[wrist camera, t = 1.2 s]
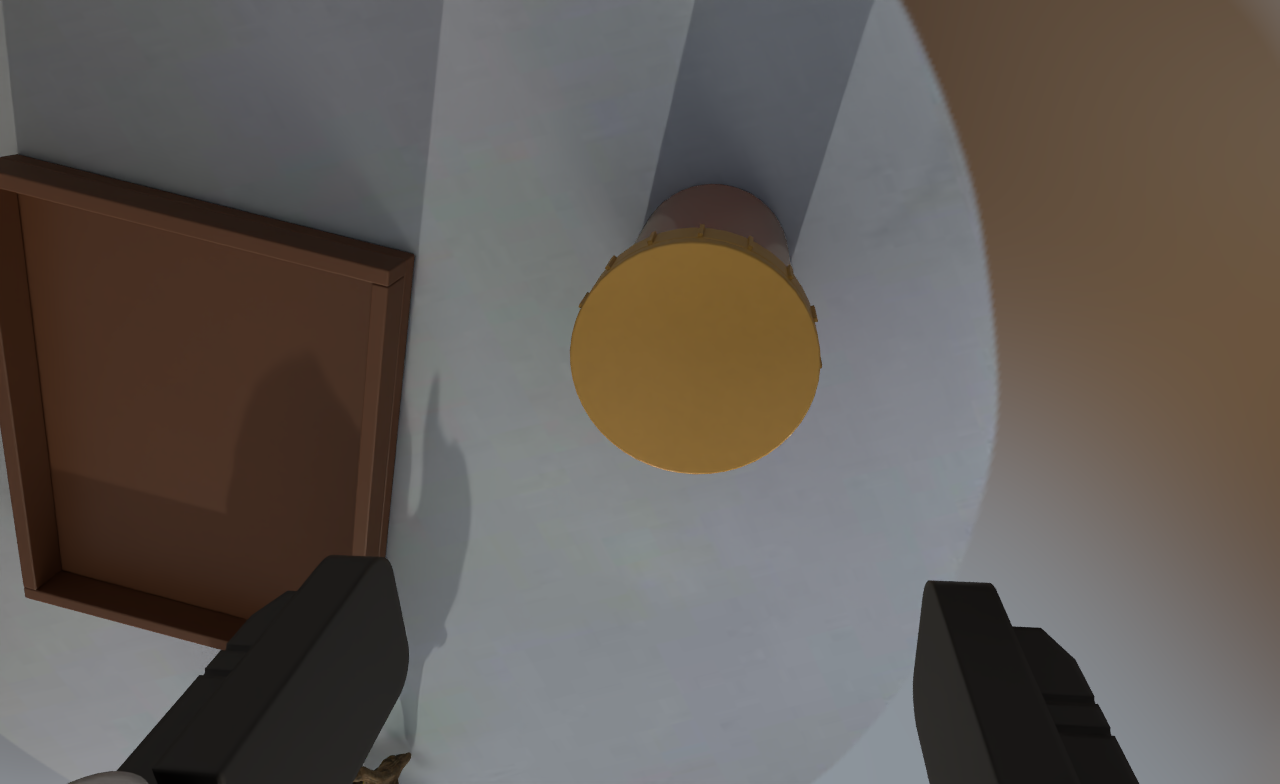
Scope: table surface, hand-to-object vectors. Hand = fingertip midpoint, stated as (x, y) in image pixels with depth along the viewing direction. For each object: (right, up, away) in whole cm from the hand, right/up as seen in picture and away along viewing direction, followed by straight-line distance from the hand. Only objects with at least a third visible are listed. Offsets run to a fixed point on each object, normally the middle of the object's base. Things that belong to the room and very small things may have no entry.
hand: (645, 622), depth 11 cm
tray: (-18, +1, +23) cm, 29 cm away
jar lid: (+1, +4, +9) cm, 10 cm away
